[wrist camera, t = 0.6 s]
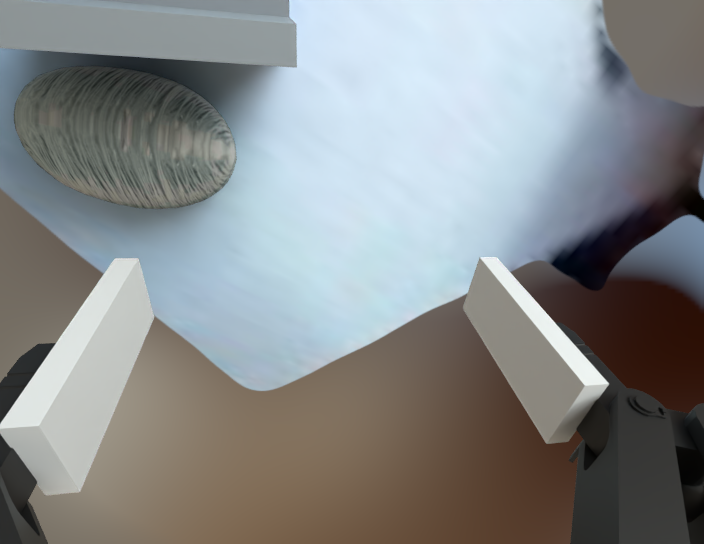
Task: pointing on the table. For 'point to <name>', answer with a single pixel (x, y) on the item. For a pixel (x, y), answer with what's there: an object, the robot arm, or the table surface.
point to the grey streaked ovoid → (125, 136)
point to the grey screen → (155, 29)
